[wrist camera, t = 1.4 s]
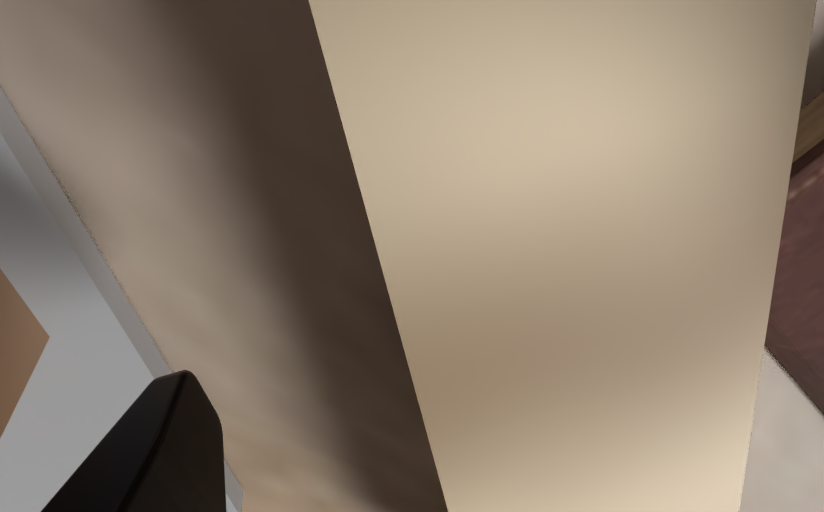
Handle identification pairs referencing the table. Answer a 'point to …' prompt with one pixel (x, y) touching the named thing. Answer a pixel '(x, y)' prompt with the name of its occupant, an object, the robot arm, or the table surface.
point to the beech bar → (576, 232)
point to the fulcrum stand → (59, 334)
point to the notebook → (802, 262)
